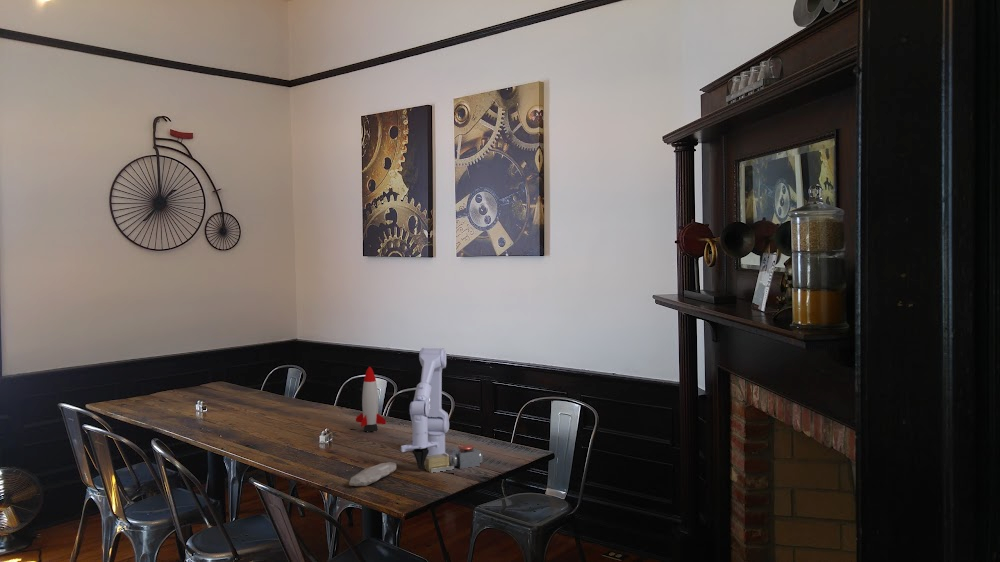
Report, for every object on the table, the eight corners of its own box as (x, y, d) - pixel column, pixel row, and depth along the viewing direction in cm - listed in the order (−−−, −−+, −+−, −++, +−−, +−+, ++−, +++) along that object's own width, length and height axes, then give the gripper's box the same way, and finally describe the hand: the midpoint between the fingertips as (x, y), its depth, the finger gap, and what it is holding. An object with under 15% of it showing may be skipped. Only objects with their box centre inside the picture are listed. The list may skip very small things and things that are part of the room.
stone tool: (340, 473, 243) (383, 454, 265) (340, 488, 243) (383, 468, 265) (366, 477, 238) (408, 458, 260) (367, 492, 238) (408, 471, 260)
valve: (424, 467, 265) (424, 448, 265) (476, 460, 274) (476, 441, 273) (431, 473, 257) (431, 453, 257) (484, 465, 266) (484, 446, 266)
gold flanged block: (424, 468, 263) (424, 455, 263) (444, 466, 266) (444, 453, 266) (429, 472, 259) (428, 459, 258) (449, 469, 262) (449, 456, 262)
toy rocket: (354, 430, 326) (361, 366, 331) (378, 432, 330) (384, 368, 336) (360, 432, 315) (367, 366, 321) (384, 433, 320) (390, 368, 325)
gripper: (404, 437, 253) (404, 474, 253) (441, 432, 259) (442, 468, 259) (398, 432, 259) (399, 468, 260) (435, 428, 265) (436, 463, 266)
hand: (420, 468), depth 260 cm, fingers closed
